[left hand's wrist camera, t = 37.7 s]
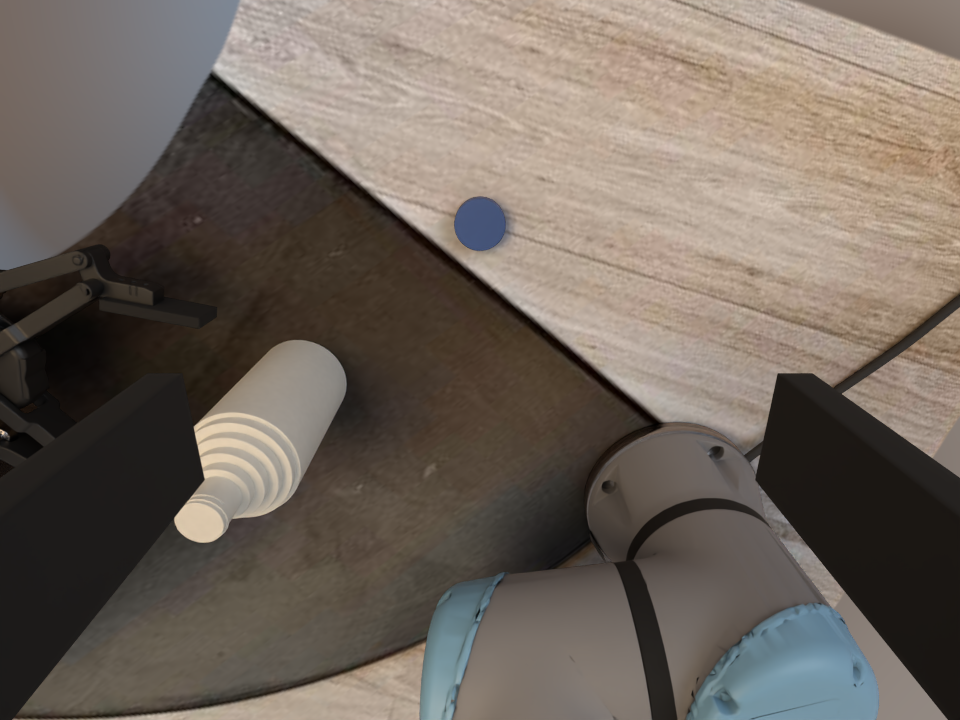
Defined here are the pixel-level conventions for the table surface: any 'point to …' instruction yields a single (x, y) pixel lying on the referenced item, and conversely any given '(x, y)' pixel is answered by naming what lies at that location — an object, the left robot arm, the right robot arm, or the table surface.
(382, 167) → the table surface
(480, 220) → the cap
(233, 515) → the bottle
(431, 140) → the table surface
